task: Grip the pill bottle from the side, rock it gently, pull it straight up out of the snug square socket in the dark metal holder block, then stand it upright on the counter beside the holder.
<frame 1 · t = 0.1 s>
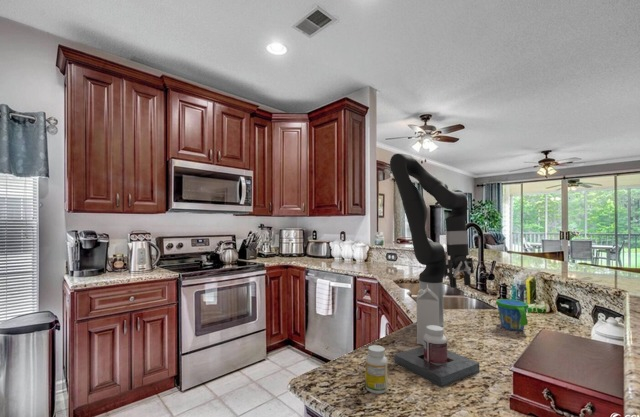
hand: (460, 286, 117), 17 cm above the counter, tool pointing down, fingers open, 8 cm apart
supplement bottle: (376, 389, 76), on the counter
pill bottle: (435, 368, 87), resting in holder block
milk carton: (428, 342, 107), on the counter
holder block: (435, 367, 87), on the counter
snack cup: (512, 328, 122), on the counter
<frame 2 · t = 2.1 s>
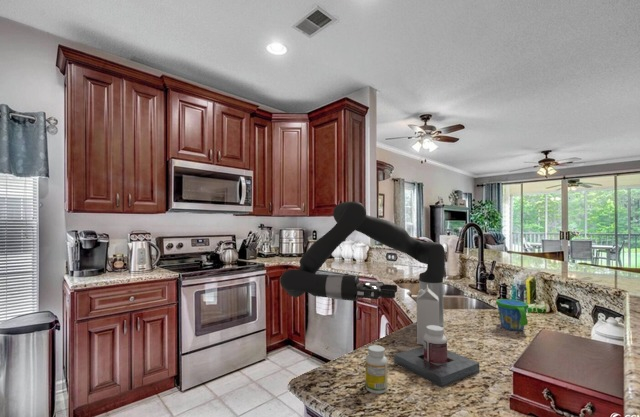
hand: (396, 291, 92), 20 cm above the counter, tool horizontal, fingers open, 8 cm apart
nothing on the counter moved.
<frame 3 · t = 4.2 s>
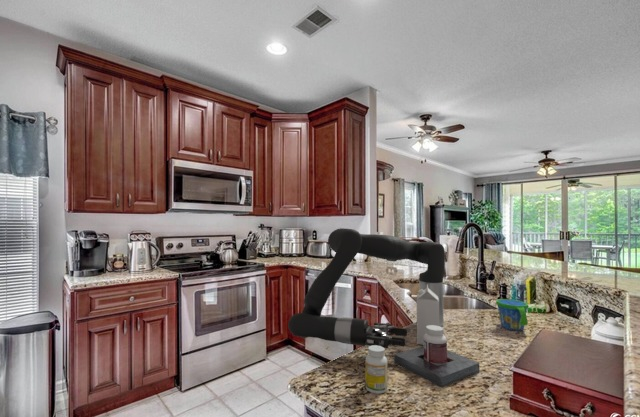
hand: (406, 337, 90), 7 cm above the counter, tool horizontal, fingers open, 8 cm apart
nothing on the counter moved.
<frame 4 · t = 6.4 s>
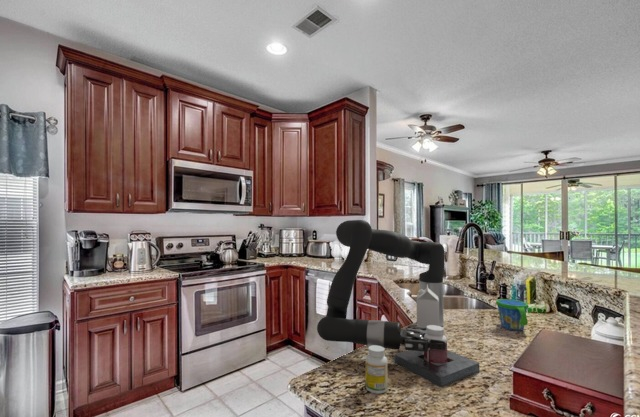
hand: (444, 341, 87), 8 cm above the counter, tool horizontal, fingers closed on pill bottle, 6 cm apart
pill bottle: (435, 368, 87), resting in holder block, touching gripper
everything else where it was.
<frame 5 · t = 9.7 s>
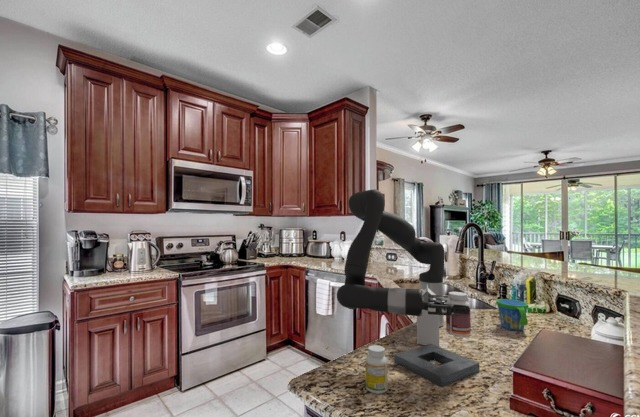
hand: (467, 306, 86), 18 cm above the counter, tool horizontal, fingers closed on pill bottle, 6 cm apart
pill bottle: (458, 334, 86), point 10 cm above the counter, touching gripper
everything else where it was.
when the fingers open (9 cm above the counter, at t = 13.0 s): pill bottle drops 1 cm, on the counter.
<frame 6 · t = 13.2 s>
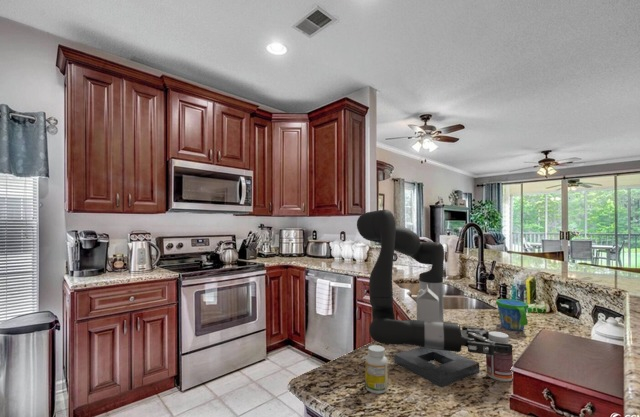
hand: (507, 342, 82), 9 cm above the counter, tool horizontal, fingers open, 8 cm apart
pill bottle: (499, 377, 82), on the counter
everything else where it was.
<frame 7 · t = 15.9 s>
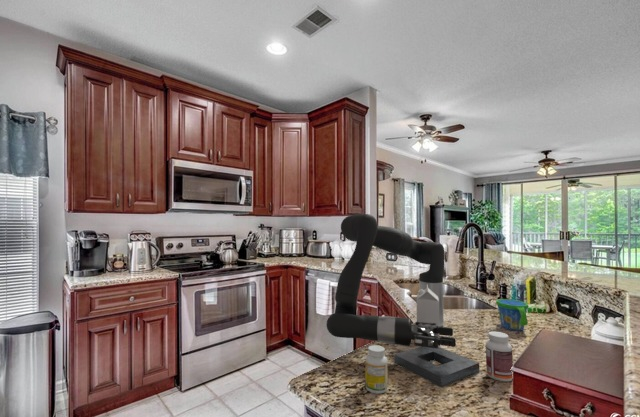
hand: (454, 336, 86), 9 cm above the counter, tool horizontal, fingers open, 8 cm apart
nothing on the counter moved.
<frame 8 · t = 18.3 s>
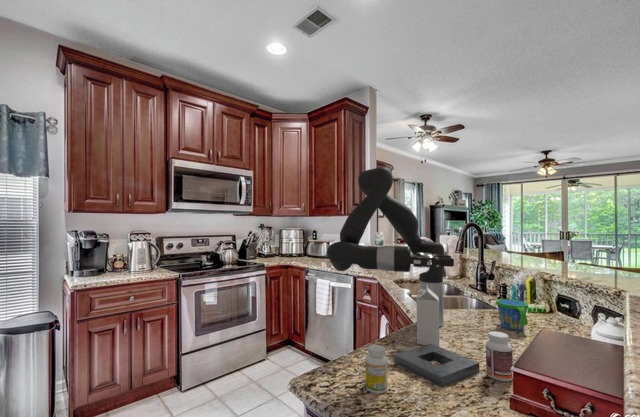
hand: (452, 260, 88), 30 cm above the counter, tool horizontal, fingers open, 8 cm apart
nothing on the counter moved.
at the end: pill bottle inside the target area (0.4 cm from its centre), on the counter; pill bottle tilted 0°; the gripper is holding nothing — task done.
